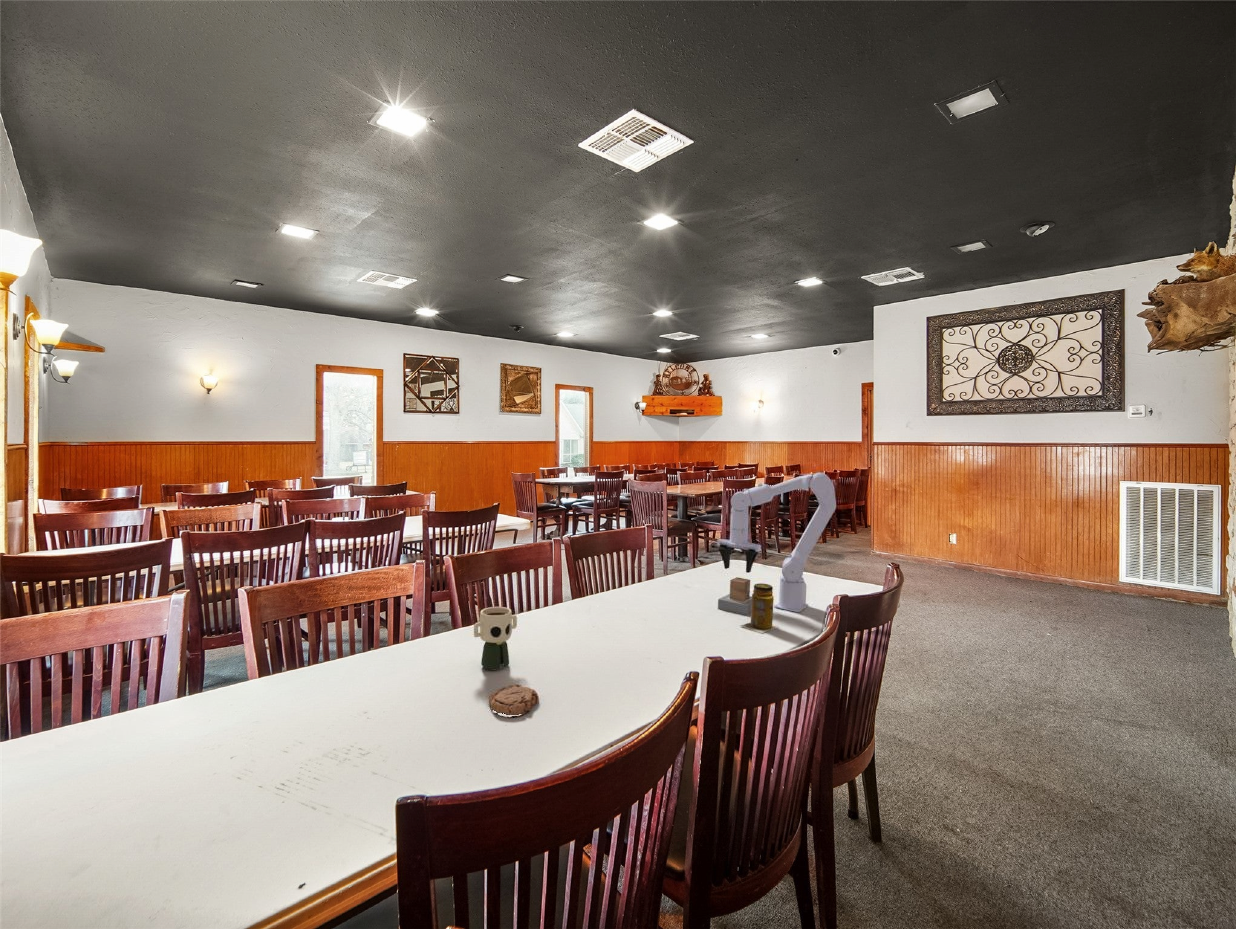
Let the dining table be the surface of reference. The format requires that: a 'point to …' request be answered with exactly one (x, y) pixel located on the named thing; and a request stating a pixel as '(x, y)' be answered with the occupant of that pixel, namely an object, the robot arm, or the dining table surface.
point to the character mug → (495, 635)
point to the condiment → (761, 609)
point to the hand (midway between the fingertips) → (737, 570)
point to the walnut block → (740, 589)
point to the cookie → (513, 699)
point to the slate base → (735, 605)
